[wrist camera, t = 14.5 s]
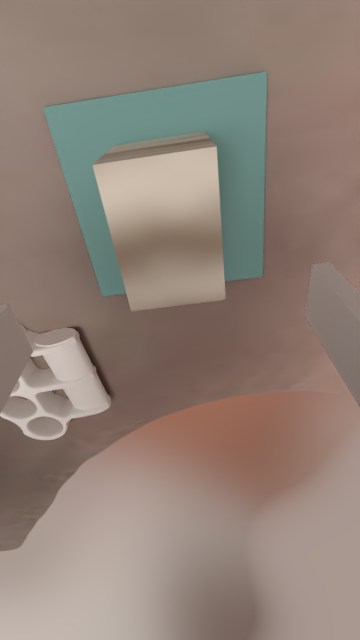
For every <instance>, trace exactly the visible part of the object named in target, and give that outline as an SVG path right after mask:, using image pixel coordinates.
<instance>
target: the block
mask: <svg viewBox="0 0 360 640" xmlns="http://www.w3.org/2000/svg"><path fill="white" fill-rule="evenodd" d="M92 166H93V169H94V173H95V177H96V181H97V184H98V188H99V192H100V196H101V200H102V203H103V207H104V211H105V215H106V218H107V222H108V226H109V230H110V234H111V237H112V241H113V245H114V249H115V252H116V256H117V260H118V264H119V268H120V271H121V275H122V279H123V283H124V286H125V290H126V294H127V298H128V302H129V305H130V309H131V311H139V310H147V309H155V308H163V307H172V306H180V305H188V304H197V303H205V302H213V301H221V300H226V297H225V280H224V263H223V246H222V229H221V212H220V194H219V177H218V160H217V146H216V145H215V144H214V142H213V141H212V140H211V139H210V137H209V136H208V135H207V134H206V132H199V133H192V134H185V135H179V136H172V137H166V138H159V139H153V140H146V141H140V142H133V143H127V144H120V145H114V146H113V147H111V148H110V149H109V150H108V151H107V152H106V153H105V154H104V155H103V156H102V157H101V158H99V159H98V160H97V161H96V162H95V163H94V164H93V165H92Z"/></svg>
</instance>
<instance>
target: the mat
mask: <svg viewBox="0 0 360 640" xmlns="http://www.w3.org/2000/svg"><path fill="white" fill-rule="evenodd" d="M266 106H267V71H266V72H260V73H254V74H248V75H241V76H235V77H229V78H223V79H216V80H210V81H204V82H198V83H192V84H185V85H179V86H173V87H167V88H160V89H154V90H148V91H142V92H135V93H129V94H123V95H117V96H111V97H104V98H98V99H92V100H86V101H79V102H73V103H67V104H61V105H54V106H48V107H43V110H44V113H45V116H46V119H47V122H48V125H49V129H50V132H51V135H52V138H53V141H54V145H55V148H56V151H57V154H58V157H59V160H60V164H61V167H62V170H63V173H64V176H65V179H66V183H67V186H68V189H69V192H70V195H71V199H72V202H73V205H74V208H75V211H76V214H77V218H78V221H79V224H80V227H81V230H82V234H83V237H84V240H85V243H86V246H87V249H88V253H89V256H90V259H91V262H92V265H93V268H94V272H95V275H96V278H97V281H98V284H99V288H100V291H101V294H102V297H103V296H111V295H119V294H126V290H125V286H124V283H123V279H122V275H121V271H120V268H119V264H118V260H117V256H116V252H115V249H114V245H113V241H112V237H111V234H110V230H109V226H108V222H107V218H106V215H105V211H104V207H103V203H102V200H101V196H100V192H99V188H98V184H97V181H96V177H95V173H94V169H93V166H92V165H93V164H94V163H95V162H96V161H97V160H98V159H99V158H101V157H102V156H103V155H104V154H105V153H106V152H107V151H108V150H109V149H110V148H111V147H113V146H114V145H120V144H127V143H133V142H140V141H146V140H153V139H159V138H166V137H172V136H179V135H185V134H192V133H199V132H206V134H207V135H208V136H209V137H210V139H211V140H212V141H213V142H214V144H215V145H216V146H217V160H218V177H219V194H220V212H221V229H222V246H223V263H224V280H225V281H233V280H241V279H249V278H258V277H263V247H264V200H265V153H266Z"/></svg>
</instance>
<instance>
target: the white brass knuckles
mask: <svg viewBox="0 0 360 640" xmlns="http://www.w3.org/2000/svg"><path fill="white" fill-rule="evenodd" d="M19 325H20V326H21V328H22V330H23V332H24V334H25V336H26V338H27V340H28V342H29V344H30V346H31V348H32V350H33V353H32V355H31V356H32V357H35V356H40V355H43V357H44V358H45V360H46V362H47V363H48V365H49V367H50V368H51V369H45V370H43V369H39V368H37V367H36V365H35V364H34V362H33V361H32V359H31V358H29V360H28V362H27V364H26V366H25V368H24V370H23V372H22V374H21V376H20V377H19V379H18V381H17V383H16V385H15V387H14V389H13V391H12V393H11V395H10V397H9V398H8V400H7V402H6V404H5V406H4V408H3V410H2V412H1V414H0V416H1V417H2V418H4V419H7V420H10V421H12V422H14V423H15V424H17V425H18V426H19V427H20V428H21V429H22V431H23V433H24V434H25V435H27V436H29V437H31V438H34V439H39V440H53V439H56V438H59V437H61V436H62V435H63V434H64V433H65V432H66V430H67V428H68V424H69V421H70V420H71V419H72V418H79V417H85V416H89V415H94V414H98V413H101V412H103V411H105V410H106V409H108V408H109V407H110V405H111V401H110V400H111V398H110V396H109V395H107V393H106V391H105V389H104V387H103V385H102V383H101V381H100V379H99V377H98V375H97V373H96V367H95V366H93V365H92V363H91V361H90V359H89V357H88V355H87V353H86V351H85V349H84V347H83V344H82V342H81V340H80V338H79V336H80V335H79V333H78V331H76V330H75V329H72V328H61V329H56V330H51V331H49V332H46V333H40V334H38V333H34V332H31V331H28V330H26V329H25V328H24V327H23V326H22V325H21V324H19ZM58 389H63V390H64V391H65V393H66V395H67V396H68V398H69V399H66V398H64V397H62V396H59V395H56V394H54V393H53V392H52V390H58ZM16 396H21V397H25V398H27V399H29V400H24V399H20V398H18V397H16ZM48 417H51V418H48Z"/></svg>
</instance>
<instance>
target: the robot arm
mask: <svg viewBox="0 0 360 640" xmlns="http://www.w3.org/2000/svg"><path fill="white" fill-rule="evenodd" d="M305 318H306V320H307V322H308V323H309V325H310V327H311V328H312V330H313V331H314V333H315V335H316V336H317V338H318V340H319V341H320V343H321V345H322V346H323V348H324V349H325V351H326V353H327V354H328V356H329V358H330V359H331V361H332V362H333V364H334V366H335V367H336V369H337V371H338V372H339V374H340V376H341V377H342V379H343V380H344V382H345V384H346V385H347V387H348V389H349V390H350V392H351V394H352V395H353V397H354V398H355V400H356V402H357V403H358V405H359V407H360V293H359V292H358V291H357V290H356V289H355V287H354V286H353V285H352V284H351V283H350V282H349V281H348V280H347V279H346V278H345V277H344V276H343V275H342V274H341V273H340V272H339V271H338V270H337V269H336V268H335V267H334V266H333V265H332V264H331V263H330V262H328V263H320V264H312V265H311V274H310V282H309V291H308V300H307V309H306V317H305ZM32 353H33V350H32V348H31V346H30V344H29V342H28V340H27V338H26V336H25V334H24V332H23V330H22V328H21V326H20V325H19V323H18V321H17V319H16V317H15V315H14V313H13V311H12V309H11V307H10V305H9V304H4V305H0V414H1V412H2V410H3V408H4V406H5V404H6V402H7V400H8V398H9V397H10V395H11V393H12V391H13V389H14V387H15V385H16V383H17V381H18V379H19V377H20V376H21V374H22V372H23V370H24V368H25V366H26V364H27V362H28V360H29V358H30V357H31V355H32Z"/></svg>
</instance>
